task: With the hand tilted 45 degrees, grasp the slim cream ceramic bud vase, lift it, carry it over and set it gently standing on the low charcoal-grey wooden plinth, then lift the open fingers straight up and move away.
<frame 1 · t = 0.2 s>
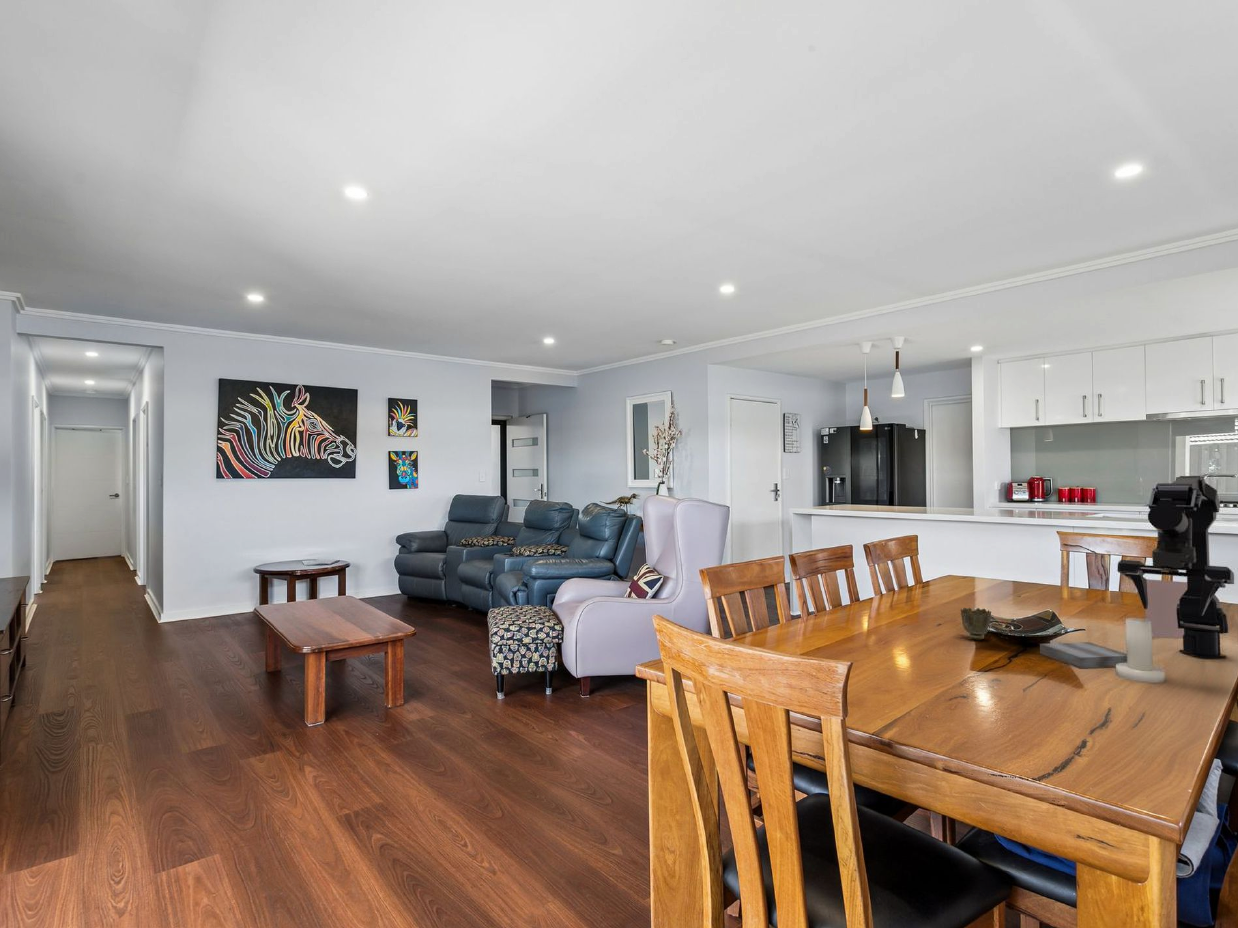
hand: (1172, 611, 141), 15 cm above the table, tool tilted 15°, fingers open, 9 cm apart
cup: (976, 639, 182), on the table
greeting card: (1171, 638, 182), on the table
grey block: (1085, 659, 161), on the table
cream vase: (1140, 677, 147), on the table
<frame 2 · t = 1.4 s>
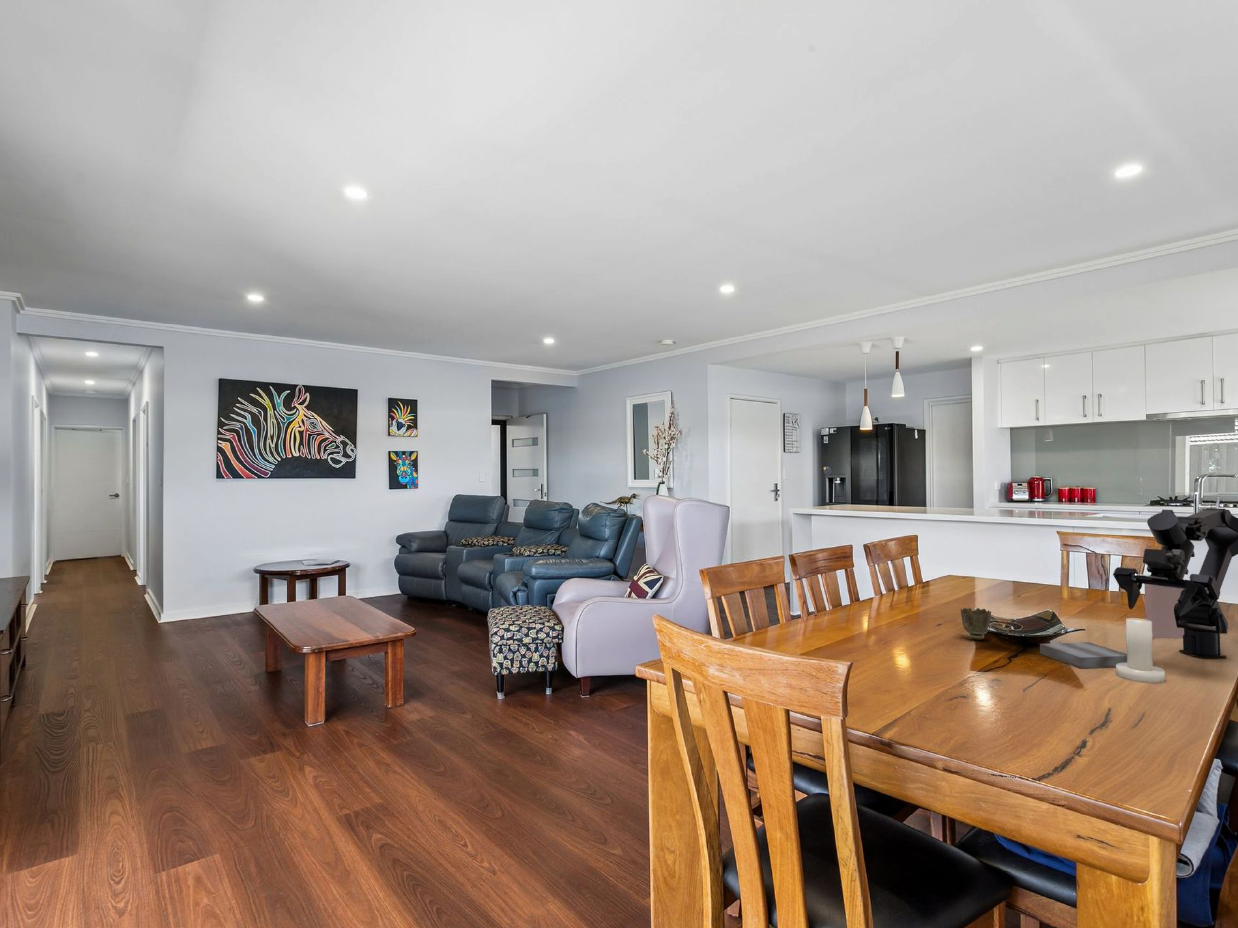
hand: (1153, 611, 151), 14 cm above the table, tool tilted 45°, fingers open, 9 cm apart
nothing on the table moved.
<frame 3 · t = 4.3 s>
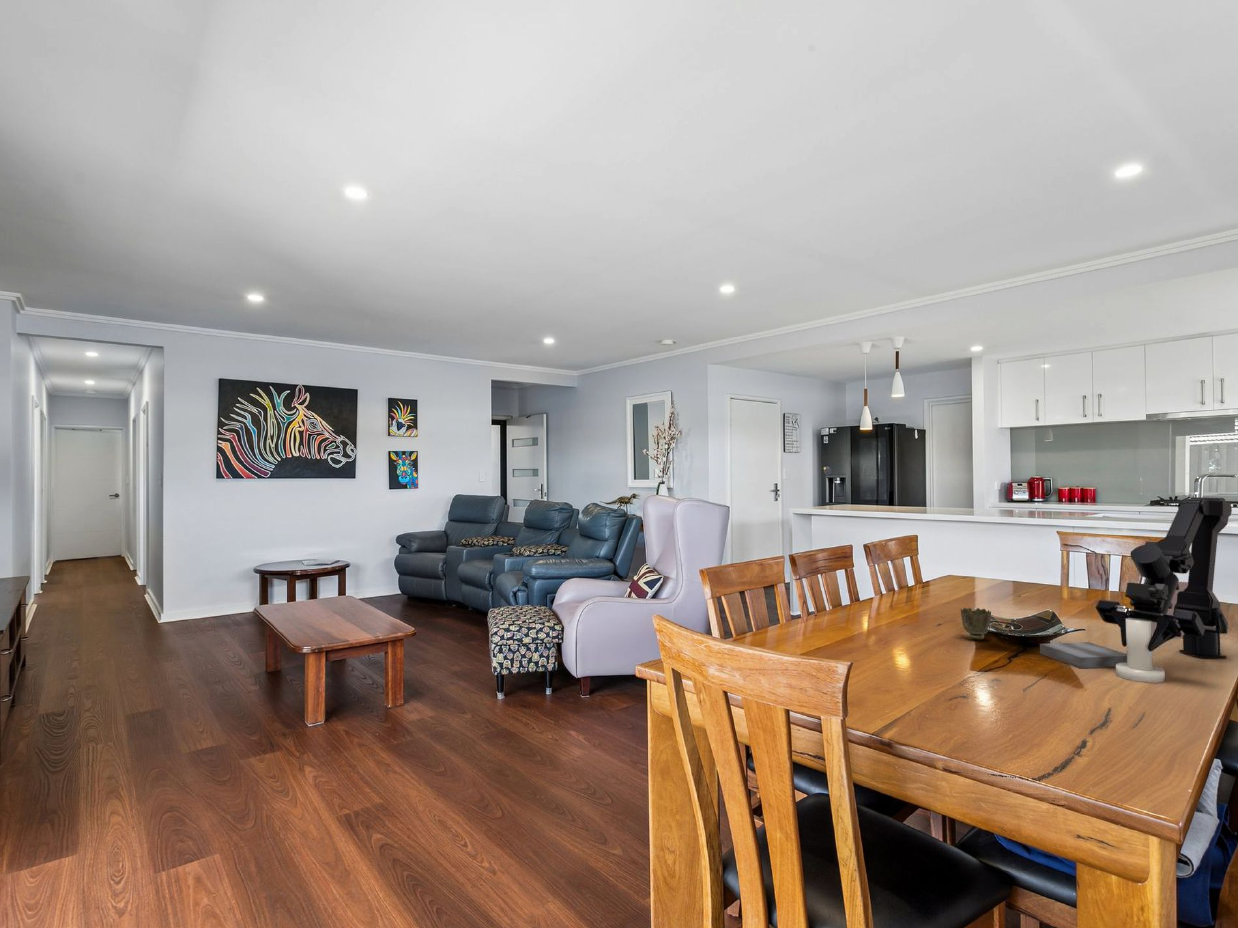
hand: (1136, 647, 146), 7 cm above the table, tool tilted 45°, fingers closed on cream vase, 4 cm apart
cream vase: (1140, 676, 147), on the table, touching gripper
everything else where it was.
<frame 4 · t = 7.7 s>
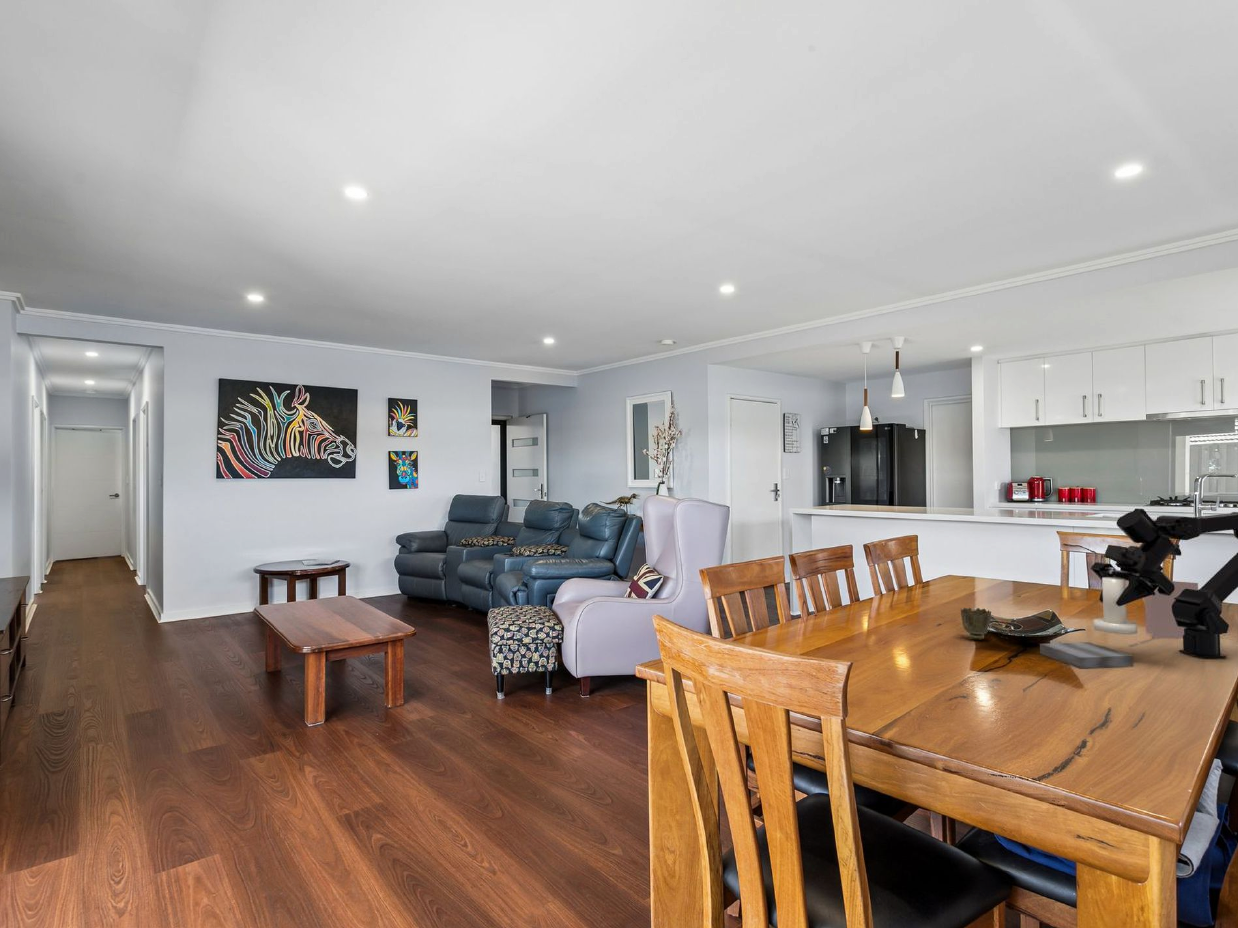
hand: (1109, 603, 162), 13 cm above the table, tool tilted 45°, fingers closed on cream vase, 4 cm apart
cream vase: (1115, 630, 162), point 7 cm above the table, touching gripper
everything else where it was.
when the fingers open (9 cm above the table, at t = 11.0 s): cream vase stays where it is, resting on grey block.
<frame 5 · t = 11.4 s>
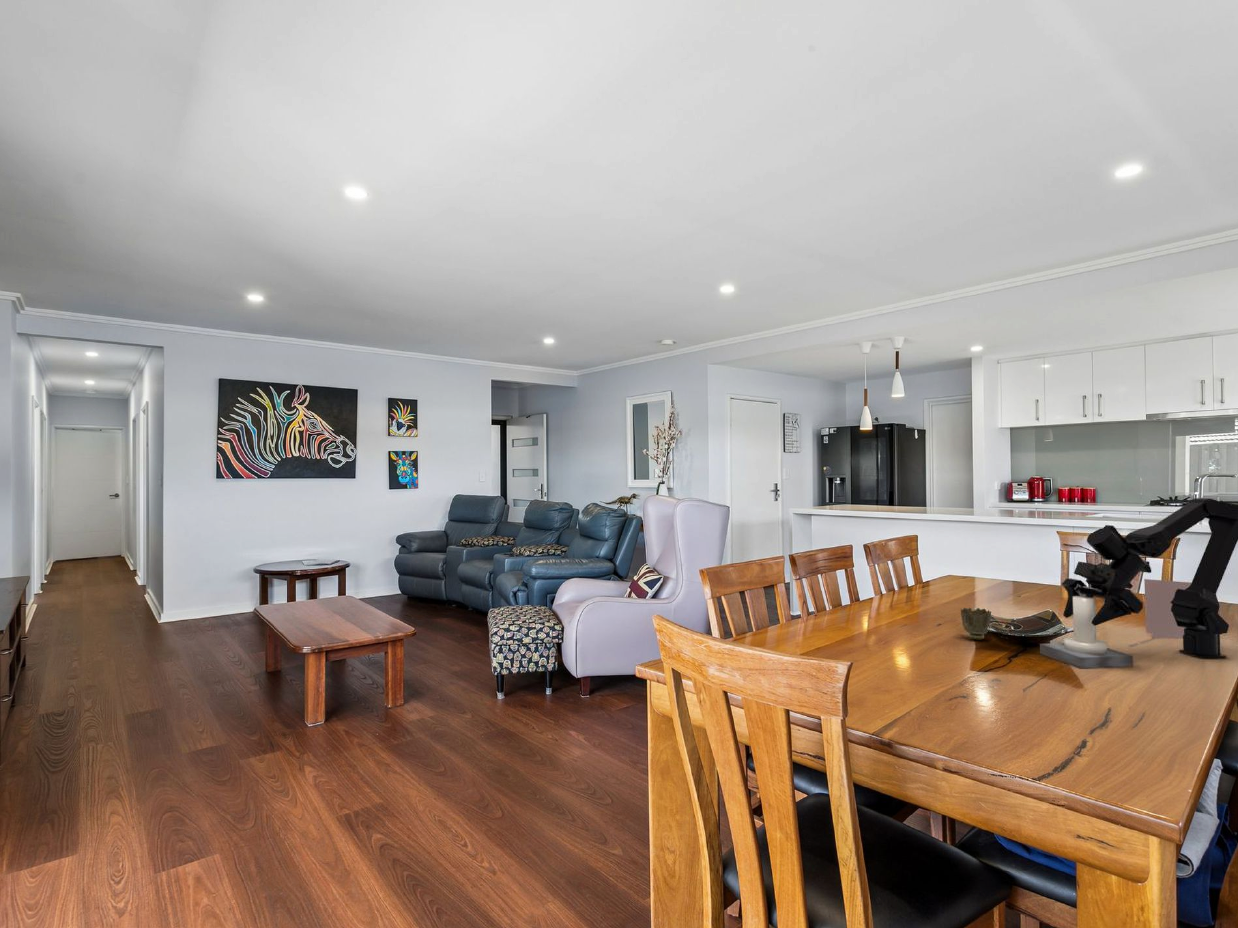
hand: (1078, 620, 161), 10 cm above the table, tool tilted 45°, fingers open, 8 cm apart
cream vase: (1085, 649, 161), point 3 cm above the table, touching grey block
everything else where it was.
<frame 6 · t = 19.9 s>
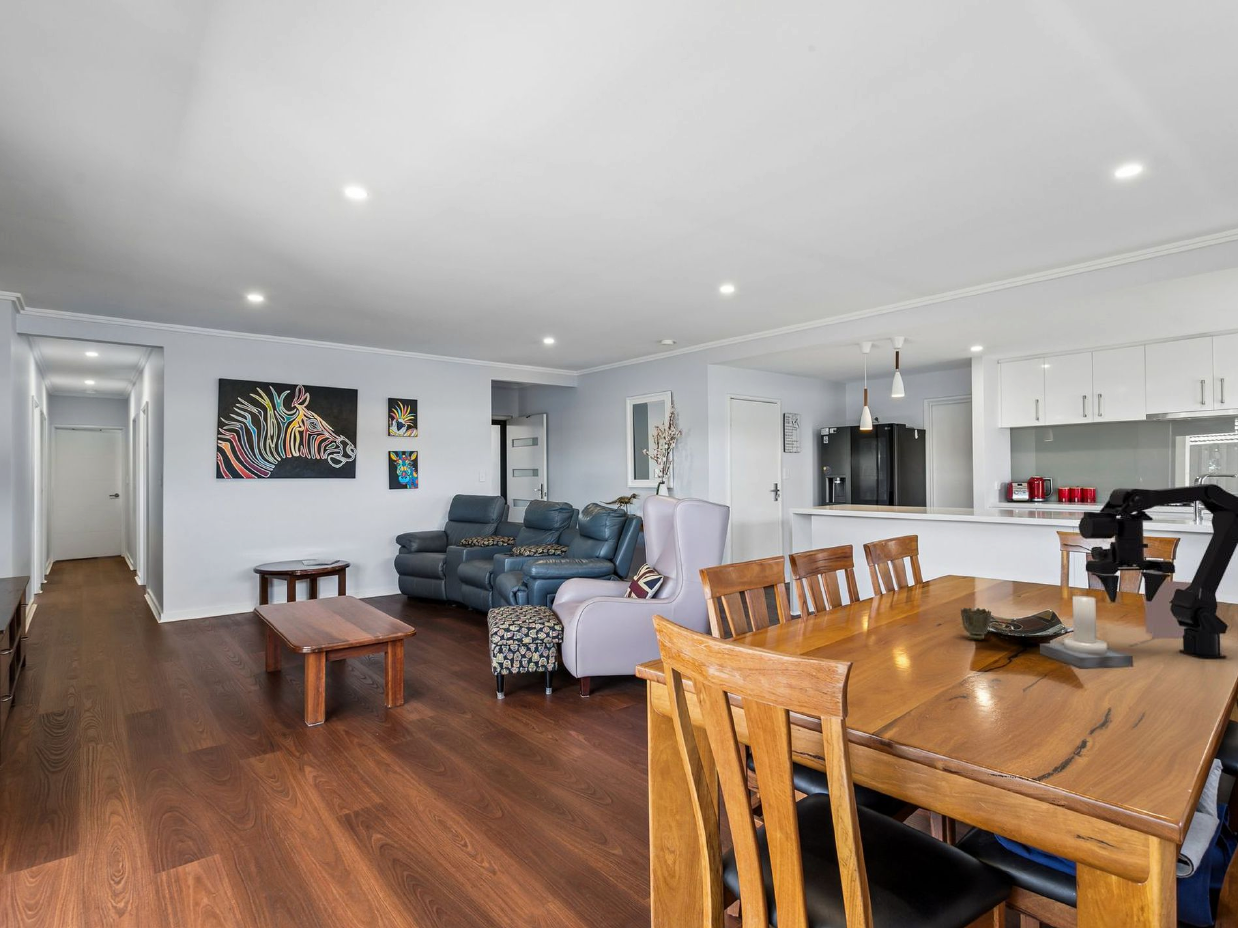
hand: (1130, 601, 165), 13 cm above the table, tool pointing down, fingers open, 9 cm apart
nothing on the table moved.
at the end: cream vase inside the target area on the grey block (0.2 cm from its centre), point 2.5 cm above the grey block's base; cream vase tilted 0°; the gripper is holding nothing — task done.
